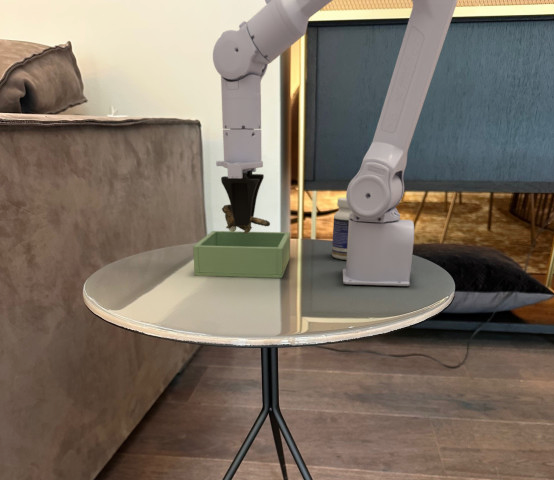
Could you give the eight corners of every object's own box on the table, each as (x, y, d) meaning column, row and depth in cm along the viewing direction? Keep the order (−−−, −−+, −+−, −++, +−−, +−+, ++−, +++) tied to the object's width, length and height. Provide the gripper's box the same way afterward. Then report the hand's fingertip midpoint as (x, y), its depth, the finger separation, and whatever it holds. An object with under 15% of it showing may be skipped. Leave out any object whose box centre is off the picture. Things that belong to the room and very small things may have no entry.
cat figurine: (220, 227, 85) (224, 202, 84) (267, 238, 85) (272, 213, 83) (216, 230, 83) (220, 204, 81) (265, 242, 83) (270, 216, 81)
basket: (289, 258, 92) (289, 232, 90) (282, 278, 79) (282, 248, 78) (213, 256, 93) (212, 230, 91) (194, 275, 81) (192, 246, 79)
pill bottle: (356, 262, 89) (360, 201, 85) (326, 258, 92) (328, 199, 88) (369, 256, 94) (373, 198, 90) (340, 252, 96) (343, 196, 92)
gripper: (225, 129, 85) (228, 216, 90) (204, 129, 71) (209, 230, 77) (268, 129, 84) (268, 216, 90) (255, 129, 71) (256, 231, 76)
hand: (244, 223), depth 83 cm, fingers closed on cat figurine, 3 cm apart
